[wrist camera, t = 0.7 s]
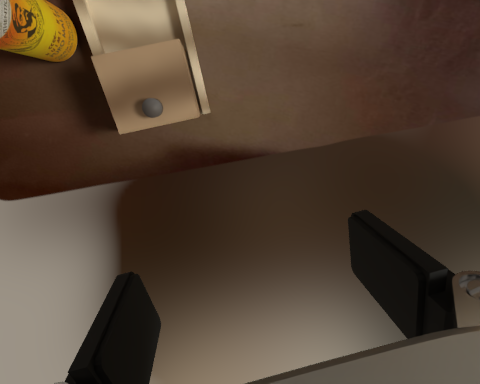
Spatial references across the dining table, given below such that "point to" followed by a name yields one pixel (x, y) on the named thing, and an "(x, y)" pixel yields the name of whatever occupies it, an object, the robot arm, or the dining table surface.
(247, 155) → the dining table surface
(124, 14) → the vise base
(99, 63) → the block
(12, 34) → the beer can
